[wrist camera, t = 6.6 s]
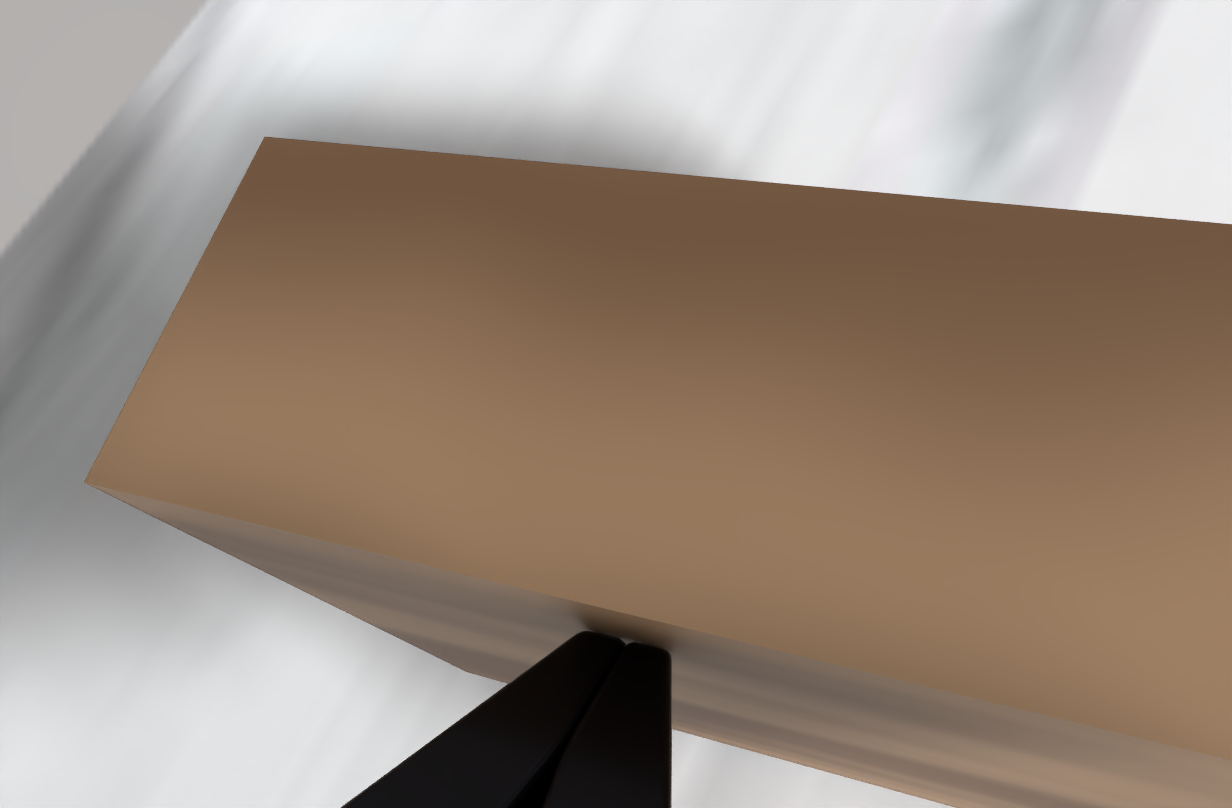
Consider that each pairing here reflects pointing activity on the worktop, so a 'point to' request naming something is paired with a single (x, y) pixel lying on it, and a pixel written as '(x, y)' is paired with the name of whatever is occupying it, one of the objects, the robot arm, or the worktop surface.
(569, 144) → the worktop surface
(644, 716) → the robot arm
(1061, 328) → the light brown wooden block
